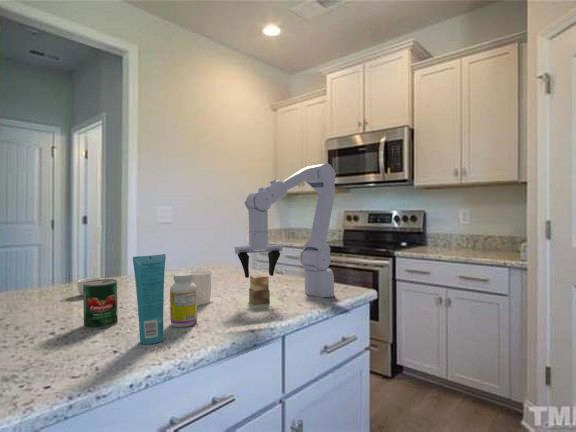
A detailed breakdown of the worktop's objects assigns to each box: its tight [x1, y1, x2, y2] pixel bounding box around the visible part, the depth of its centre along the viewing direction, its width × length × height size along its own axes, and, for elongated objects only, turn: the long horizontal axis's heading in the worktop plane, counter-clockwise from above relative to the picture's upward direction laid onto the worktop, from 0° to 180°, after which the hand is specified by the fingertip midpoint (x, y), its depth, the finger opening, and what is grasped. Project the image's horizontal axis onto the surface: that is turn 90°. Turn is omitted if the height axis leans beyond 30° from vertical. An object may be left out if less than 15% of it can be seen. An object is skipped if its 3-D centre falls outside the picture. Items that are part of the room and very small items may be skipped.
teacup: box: [77, 277, 103, 297], centre depth 131 cm, size 10×8×5 cm
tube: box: [132, 253, 167, 345], centre depth 83 cm, size 7×5×19 cm, turn 140°
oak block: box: [249, 273, 270, 291], centre depth 113 cm, size 4×4×4 cm
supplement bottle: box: [169, 272, 198, 328], centre depth 95 cm, size 7×7×13 cm
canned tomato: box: [82, 278, 119, 330], centre depth 96 cm, size 8×8×11 cm
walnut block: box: [248, 287, 271, 305], centre depth 113 cm, size 5×5×4 cm
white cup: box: [186, 270, 213, 306], centre depth 114 cm, size 8×8×10 cm
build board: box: [235, 295, 285, 310], centre depth 113 cm, size 12×12×1 cm
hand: (259, 276), depth 113 cm, fingers open, 7 cm apart
